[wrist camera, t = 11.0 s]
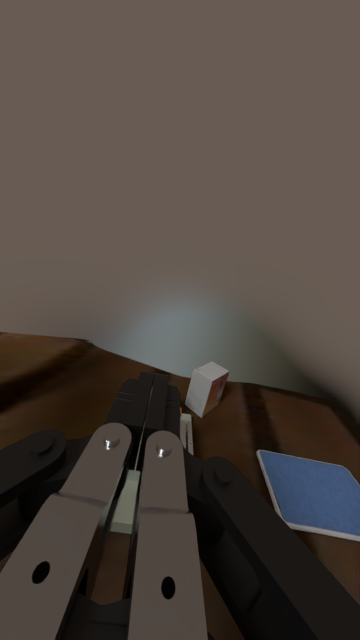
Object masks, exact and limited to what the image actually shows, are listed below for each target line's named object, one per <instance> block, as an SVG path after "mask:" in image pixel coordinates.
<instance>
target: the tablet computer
mask: <svg viewBox="0 0 360 640" xmlns="http://www.w3.org/2000/svg"><path fill="white" fill-rule="evenodd" d="M257 457H258V460H259V463H260V466H261V469H262V471H263V474H264V478H265V481H266V484H267V487H268V490H269V493H270V496H271V499H272V502H273V505H274V508H275V511H276V513H277V514H278V515H279V516H280V517H281V518H282V519H283V520H284V522H285V523H286V524H287V525H288V526H289V527H290V528H291V529H295V530H301V531H307V532H313V533H318V534H323V535H329V536H334V537H339V538H344V539H349V540H354V541H360V485H359V484H358V483H357V481H356V480H355V479H354V477H353V476H352V474H351V473H350V472H349V470H348V469H347V468H345V467H344V466H341V465H335V464H330V463H325V462H320V461H315V460H310V459H305V458H300V457H294V456H289V455H284V454H279V453H274V452H269V451H264V450H258V451H257Z"/></svg>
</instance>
